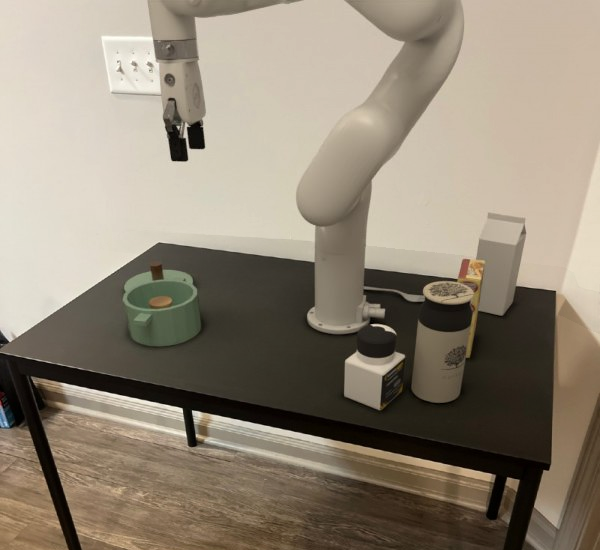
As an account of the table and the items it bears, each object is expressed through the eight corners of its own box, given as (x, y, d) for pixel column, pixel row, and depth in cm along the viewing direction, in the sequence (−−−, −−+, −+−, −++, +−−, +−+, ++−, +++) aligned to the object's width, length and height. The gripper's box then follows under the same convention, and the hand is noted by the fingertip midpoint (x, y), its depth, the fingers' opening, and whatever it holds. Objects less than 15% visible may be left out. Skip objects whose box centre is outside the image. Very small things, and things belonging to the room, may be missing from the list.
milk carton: (502, 316, 122) (520, 223, 111) (468, 309, 125) (482, 217, 114) (512, 303, 127) (530, 213, 116) (479, 296, 130) (493, 207, 119)
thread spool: (179, 322, 121) (175, 297, 118) (170, 333, 118) (166, 306, 115) (158, 320, 122) (154, 295, 119) (149, 331, 119) (145, 305, 115)
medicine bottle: (380, 412, 96) (385, 346, 89) (343, 397, 100) (344, 332, 93) (402, 391, 101) (408, 327, 94) (366, 377, 104) (369, 315, 97)
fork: (337, 281, 138) (337, 274, 136) (442, 301, 128) (443, 293, 127) (331, 286, 135) (332, 279, 134) (437, 307, 126) (438, 299, 125)
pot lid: (203, 277, 141) (200, 253, 138) (178, 305, 129) (174, 280, 125) (142, 272, 144) (138, 248, 140) (113, 299, 132) (107, 274, 128)
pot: (215, 310, 127) (211, 276, 122) (180, 357, 111) (175, 320, 107) (153, 304, 129) (147, 271, 125) (110, 349, 114) (102, 313, 109)
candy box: (470, 359, 109) (483, 279, 100) (446, 356, 110) (457, 276, 101) (474, 336, 116) (486, 259, 107) (451, 333, 117) (462, 257, 108)
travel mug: (403, 381, 103) (413, 283, 93) (447, 374, 105) (461, 277, 94) (422, 407, 97) (434, 305, 86) (468, 400, 98) (485, 298, 88)
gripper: (179, 56, 98) (192, 166, 108) (212, 46, 112) (221, 145, 122) (136, 56, 99) (152, 165, 109) (173, 47, 113) (185, 144, 123)
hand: (188, 154), depth 115 cm, fingers open, 9 cm apart
